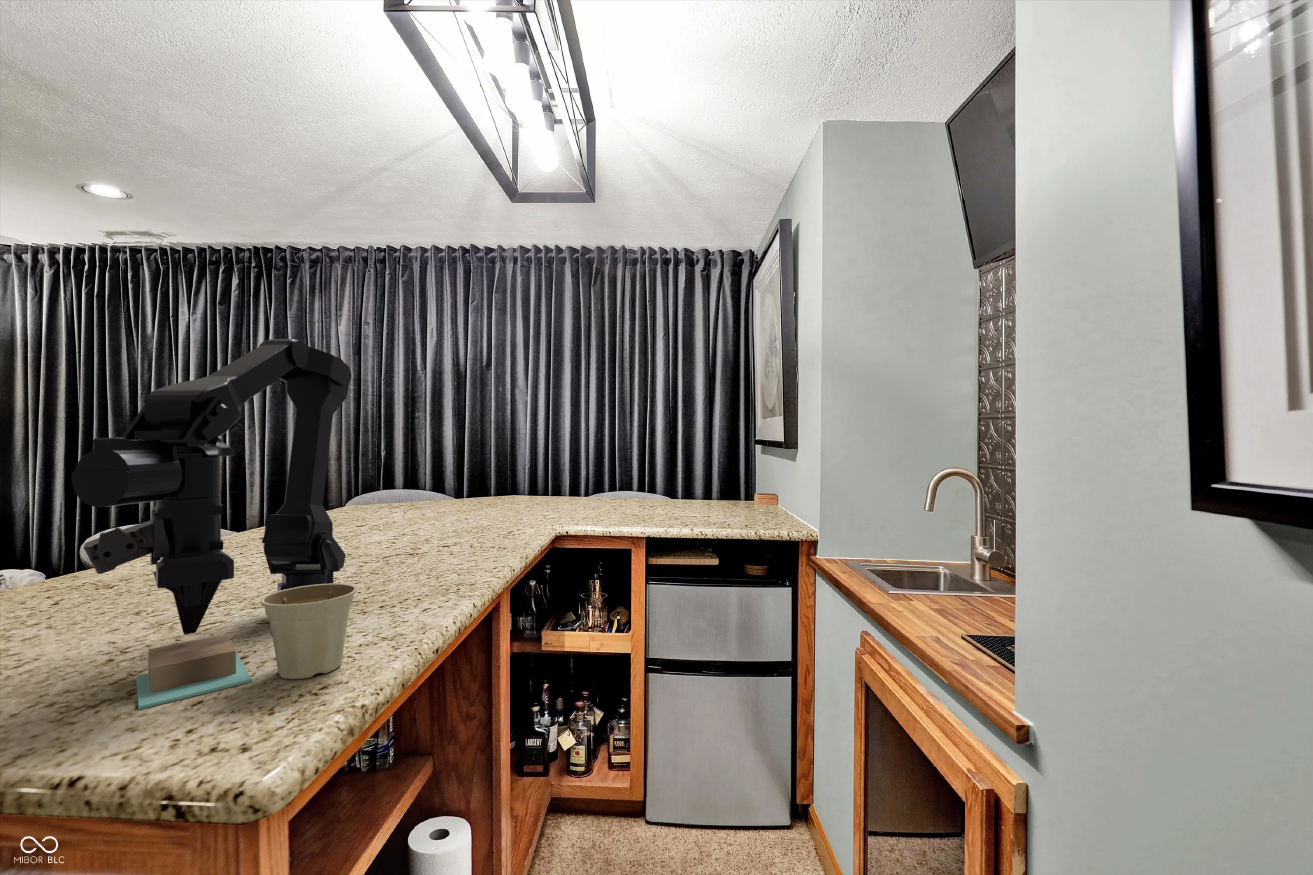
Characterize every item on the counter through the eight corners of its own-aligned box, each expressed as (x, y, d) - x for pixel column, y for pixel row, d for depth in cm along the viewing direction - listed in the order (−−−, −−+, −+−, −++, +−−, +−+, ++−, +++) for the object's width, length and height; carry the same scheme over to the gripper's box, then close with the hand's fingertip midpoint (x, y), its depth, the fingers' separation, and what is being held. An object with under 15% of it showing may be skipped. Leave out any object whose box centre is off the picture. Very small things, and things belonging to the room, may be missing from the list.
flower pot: (271, 660, 67) (271, 587, 67) (360, 648, 71) (360, 579, 71) (250, 693, 58) (250, 609, 58) (353, 677, 62) (353, 598, 62)
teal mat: (237, 656, 68) (237, 654, 68) (251, 681, 61) (251, 678, 61) (136, 678, 62) (136, 675, 62) (138, 709, 55) (138, 706, 55)
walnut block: (226, 634, 68) (235, 650, 62) (226, 654, 68) (236, 673, 62) (148, 649, 63) (151, 668, 58) (148, 671, 63) (151, 693, 58)
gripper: (92, 496, 66) (93, 630, 66) (86, 510, 53) (86, 678, 53) (213, 490, 74) (213, 610, 74) (234, 501, 60) (235, 647, 60)
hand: (189, 632), depth 65 cm, fingers closed
